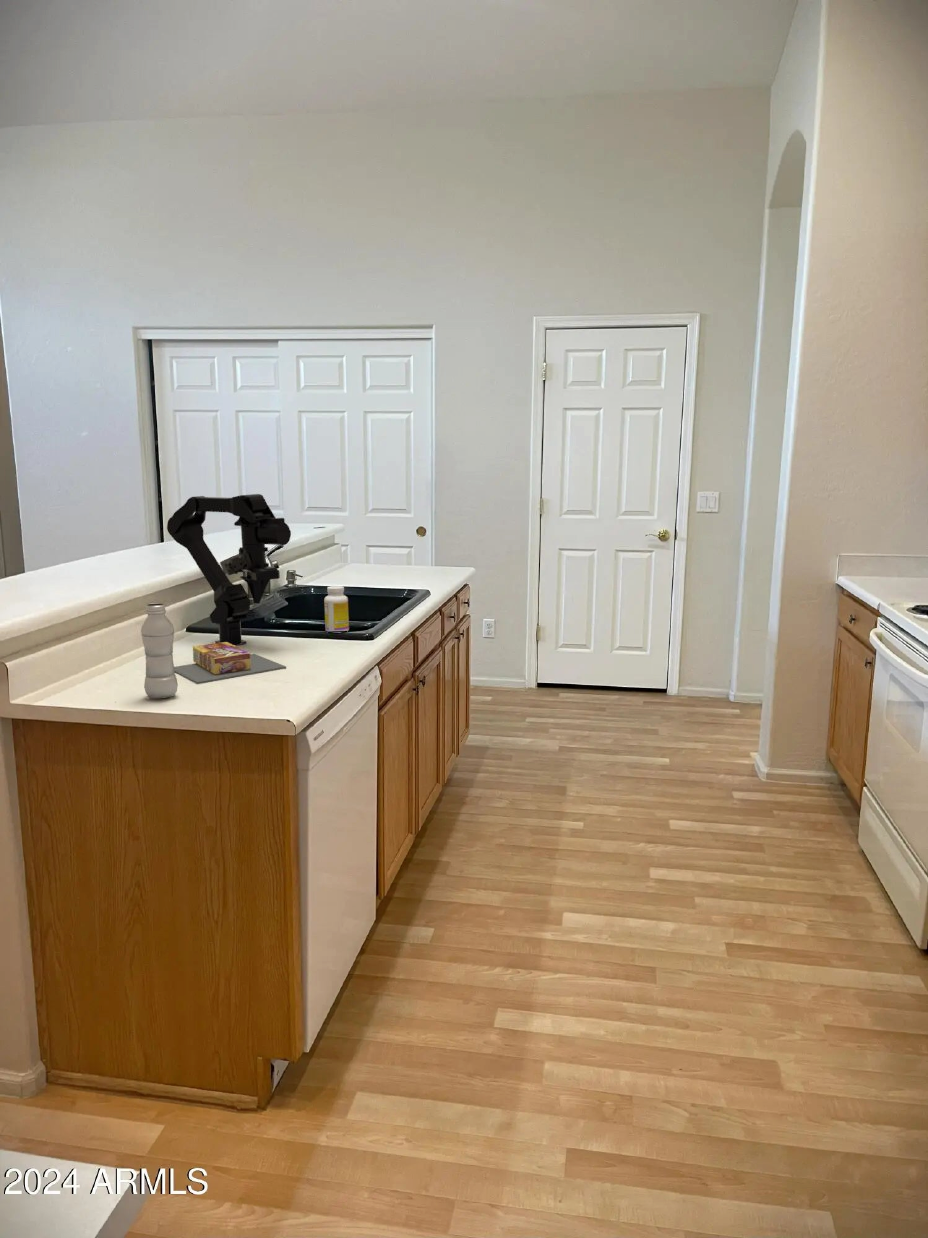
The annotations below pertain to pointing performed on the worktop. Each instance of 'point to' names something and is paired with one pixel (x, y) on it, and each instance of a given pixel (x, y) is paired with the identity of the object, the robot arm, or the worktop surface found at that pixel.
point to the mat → (203, 675)
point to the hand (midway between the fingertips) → (256, 603)
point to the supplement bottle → (336, 609)
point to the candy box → (221, 658)
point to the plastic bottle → (158, 653)
